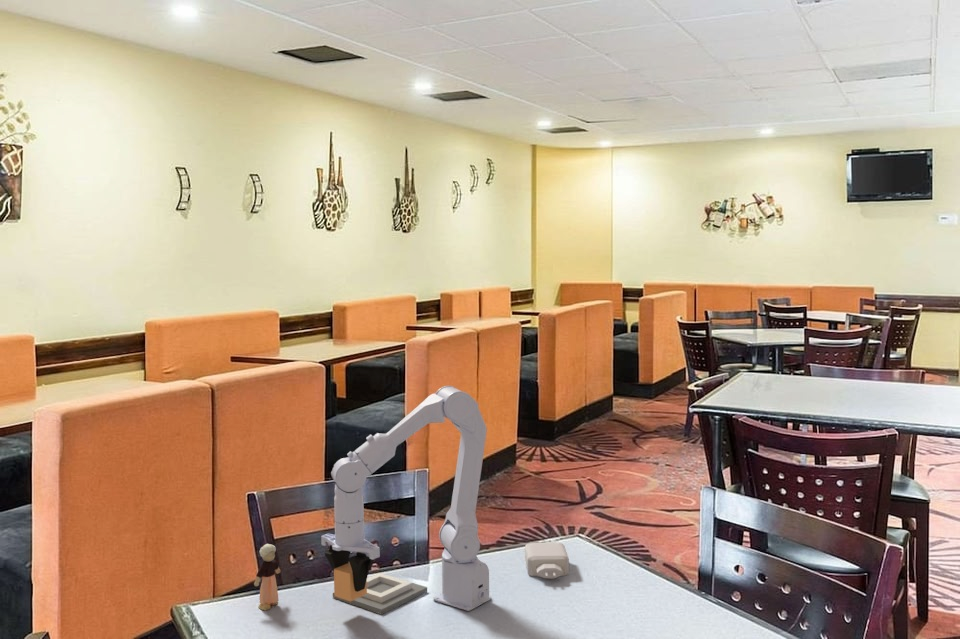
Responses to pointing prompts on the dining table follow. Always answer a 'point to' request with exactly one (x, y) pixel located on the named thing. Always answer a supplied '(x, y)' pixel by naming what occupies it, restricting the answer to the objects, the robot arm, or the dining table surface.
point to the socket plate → (386, 593)
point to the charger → (546, 560)
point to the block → (346, 584)
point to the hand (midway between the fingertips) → (350, 586)
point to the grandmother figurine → (267, 577)
